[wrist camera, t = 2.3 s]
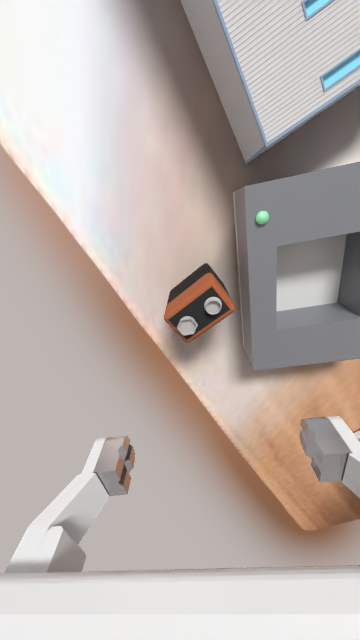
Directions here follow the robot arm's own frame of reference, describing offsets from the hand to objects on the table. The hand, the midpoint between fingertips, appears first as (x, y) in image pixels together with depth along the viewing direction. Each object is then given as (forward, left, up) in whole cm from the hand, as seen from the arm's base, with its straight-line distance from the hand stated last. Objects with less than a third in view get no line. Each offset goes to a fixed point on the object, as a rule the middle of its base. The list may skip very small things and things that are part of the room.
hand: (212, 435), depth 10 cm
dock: (0, -14, -23) cm, 27 cm away
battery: (0, 0, -23) cm, 23 cm away
